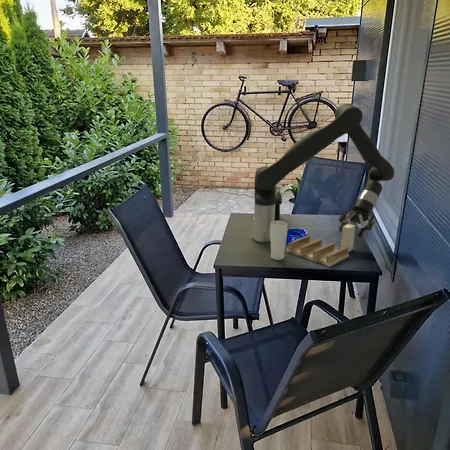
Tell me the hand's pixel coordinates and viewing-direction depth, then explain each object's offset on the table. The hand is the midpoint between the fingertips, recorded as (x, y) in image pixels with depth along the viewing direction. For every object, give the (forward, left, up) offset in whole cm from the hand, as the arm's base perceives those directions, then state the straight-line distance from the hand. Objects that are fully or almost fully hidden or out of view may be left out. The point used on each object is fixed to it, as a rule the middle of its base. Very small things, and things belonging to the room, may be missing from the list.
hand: (349, 234), depth 167 cm
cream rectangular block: (0, -1, -7) cm, 7 cm away
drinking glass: (-15, -29, -7) cm, 34 cm away
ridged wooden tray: (-6, -14, -7) cm, 17 cm away
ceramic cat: (-48, +8, -7) cm, 49 cm away
